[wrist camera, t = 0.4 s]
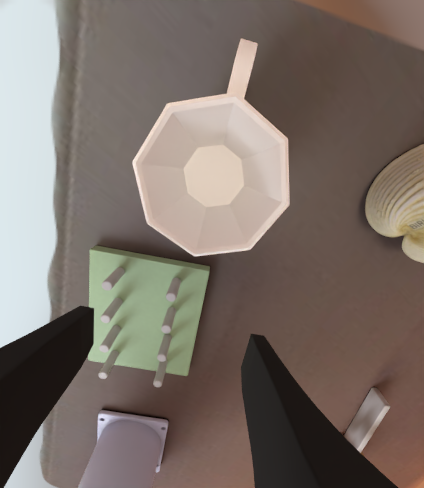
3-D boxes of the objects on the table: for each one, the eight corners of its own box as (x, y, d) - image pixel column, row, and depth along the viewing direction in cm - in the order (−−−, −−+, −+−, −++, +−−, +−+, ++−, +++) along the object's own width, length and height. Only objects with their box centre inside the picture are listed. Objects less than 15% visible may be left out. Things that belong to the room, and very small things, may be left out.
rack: (188, 367, 24) (184, 400, 20) (93, 352, 23) (72, 383, 20) (210, 266, 20) (208, 286, 16) (95, 245, 19) (70, 261, 16)
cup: (161, 208, 18) (121, 239, 10) (188, 63, 15) (159, -44, 7) (244, 230, 19) (263, 274, 11) (288, 94, 15) (358, 24, 8)
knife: (339, 462, 28) (351, 493, 26) (322, 460, 28) (333, 490, 26) (384, 388, 24) (405, 416, 21) (364, 385, 24) (383, 412, 21)
